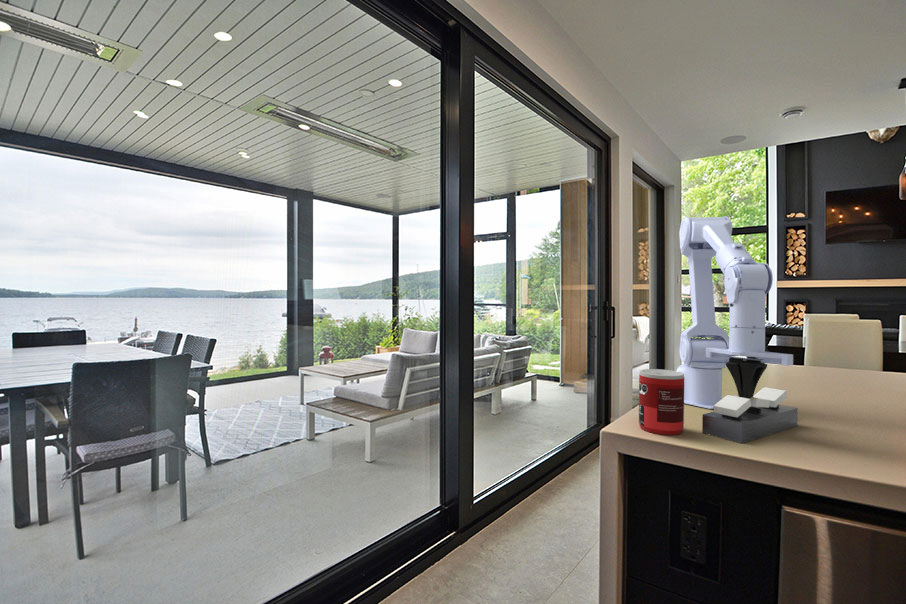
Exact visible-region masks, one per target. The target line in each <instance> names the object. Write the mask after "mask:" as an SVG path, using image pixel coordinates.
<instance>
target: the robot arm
mask: <svg viewBox="0 0 906 604" xmlns="http://www.w3.org/2000/svg"><path fill="white" fill-rule="evenodd" d="M680 222H681V223H680V226H679V234H678V235H679V237H678V238H679V249H680V254H681V255H683V256H684V257H685V258H686V257H687V264H688V272H689V286H690V303H691V304H690V305H691V318H692V319H691V320H692V325H690V326H688V327H687V328H686V329H685V330H683V331H682V332H681V334H680V338H679V339H680V343H679V352H678V353H679V358H680V360H681V362H682V363H683V364H680V365H678V367H677V368H676V371H677V372H681V373H683V374H684V405H685V404H686V405H689V406H690V405H691V406H695V407H699V408H704V409H709V410H714V405H715V404H716V403H718V402H719V401H720V400H721V399H723V369H726V368H727V370H728V371H729V373H730V375H731V377H732V379H733V382H734V384H735V387H736V390H737V395H739V397H742V398H747V399H750V398H751V397H753V396H754V395H755V390H756V388H757V385H758V384H759V381H760V379H761V377H762V375H763V374H764V372H765V371H766V370H767V367H768V364H771V365H779V366H780V365H781V366H784V367H785V366H787V367H789V366H790V367H791V366H793V365H794V354H791V353H782V352H781V353H780V352H771V351H766V297H767V296H766V295H767V294H768V293H770V291H771V289H772V286H773V280H774V279H773V278H774V277H773V275H774V274H773V272H772V269H771V267H770V266H769V265H770V264H768V263H764V262H763V263H762V262H757V261H756V260H755V258H753V256H752V255H751V253H750V252H749V251H748V250H747V248H746V247H745V246H744V245H743V244H742V243H740V242H739V243H737V242H735V240H734V239H733V238H732V233H733V225H732V224H733V223H732V220H731V219H730V217H729V216H727V215H726V216H725V215H724V216H712V217H711V216H710V217H688V216H685V217H684V218H683V219H682V221H680ZM713 257H715V259H714V260H715V262H716V264H717V266H718V268H720V271H721V272H722V273H723V275H724V280H723V284H724V285H723V286H724V291H725V293H726V301H727V303H728V304H729V329H728V331H729V333H728V332H727V331H726V330H725V329H723V328H722V327H720V326H719V325H718V324H716V322H717V320H716V311H715V310H716V309H715V307H716V306H715V296H714V282H713V268H712V267H713V266H712V259H713Z"/></svg>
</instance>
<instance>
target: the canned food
mask: <svg viewBox="0 0 906 604" xmlns="http://www.w3.org/2000/svg"><path fill="white" fill-rule="evenodd" d="M638 376H639V377H638V378H639V379H638V424H639V427H640V429H642V430H643V431H645V432H646V433H647V432H648V433H651V434H656V435H662V436H676V435H677V434H678V435H680V434H682V432H683V430H684V427H685V425H684V424H685V423H684V422H685V418H684V417H685V411H684V410H685V403H684V374H683V373H681V372H677V370H671V369H659V368H648V369H647V368H645V369H640V370H639V375H638Z"/></svg>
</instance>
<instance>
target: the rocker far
mask: <svg viewBox="0 0 906 604" xmlns="http://www.w3.org/2000/svg"><path fill="white" fill-rule="evenodd" d="M787 395H788V394H787V390H785V389H784V390H782V389H778V388H772V387H767V386H766V387H763V388H761V389H760V390H758V392H756V393H754V395H753V397H754V398H759V399H765V400H770V403H769V406H770V407H776V406H778V405H781V403H782V402H783V401H785V400H786V399H787V398H788V396H787Z"/></svg>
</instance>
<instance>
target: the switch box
mask: <svg viewBox="0 0 906 604" xmlns="http://www.w3.org/2000/svg"><path fill="white" fill-rule="evenodd" d="M798 411H799V410H798V407H794V406H788V405H783V404H779V405H778V406H776V407H770V406H769V408H767V407H756V406H751V407H749V408H748V409H747V410H746V411H745V412H743V413H742V414H741V415H740V416H739V417H732V416H728V415H723V414H719V413H715V412H714V411H711V412H708V413H707V412H706V413H703V414H702V421H701V422H702V431H701V432H702V434H704V433H706V434H705V435H708V434H710V435H709V436H712V435H713V436H712V437H715V436H717V437H716V438H719V437H720V439H723V438H724V439H723V440H727V441H731V442H734V441H735V443H738V444H745V443H747V442H751V441H754V440H757V439H760V438H764V437H767V436H770V435H772V434H776V433H779V432H782V431H785V430H789V429H790V428H791V429H792V428H794V427H797V426H798Z"/></svg>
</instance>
